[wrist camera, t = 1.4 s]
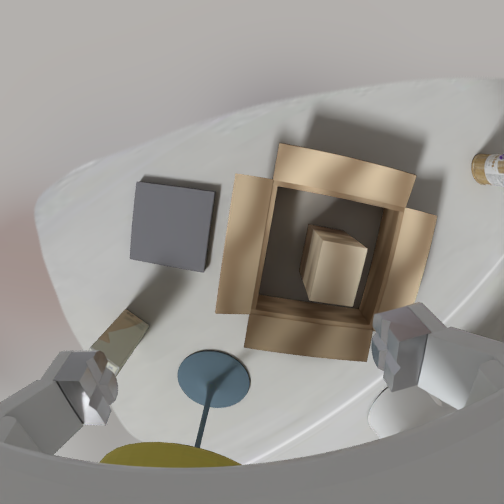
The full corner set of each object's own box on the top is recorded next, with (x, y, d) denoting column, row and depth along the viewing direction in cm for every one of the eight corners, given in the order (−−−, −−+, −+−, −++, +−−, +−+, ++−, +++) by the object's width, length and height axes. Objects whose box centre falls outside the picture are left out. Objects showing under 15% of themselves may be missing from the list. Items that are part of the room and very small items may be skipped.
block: (343, 230, 39) (367, 248, 29) (333, 275, 40) (352, 306, 30) (308, 224, 39) (322, 240, 29) (299, 270, 40) (309, 300, 30)
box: (126, 307, 42) (90, 345, 31) (150, 325, 43) (120, 367, 32) (112, 332, 43) (77, 371, 33) (135, 349, 44) (106, 392, 33)
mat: (215, 191, 38) (214, 192, 37) (204, 270, 40) (203, 272, 39) (139, 181, 38) (136, 181, 37) (132, 257, 40) (129, 258, 39)
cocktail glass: (257, 316, 42) (248, 469, 17) (285, 413, 46) (292, 550, 21) (137, 338, 43) (53, 460, 19) (180, 426, 47) (142, 547, 23)
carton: (419, 181, 37) (444, 183, 30) (377, 340, 42) (392, 364, 36) (245, 142, 36) (241, 136, 30) (218, 318, 42) (211, 342, 36)
